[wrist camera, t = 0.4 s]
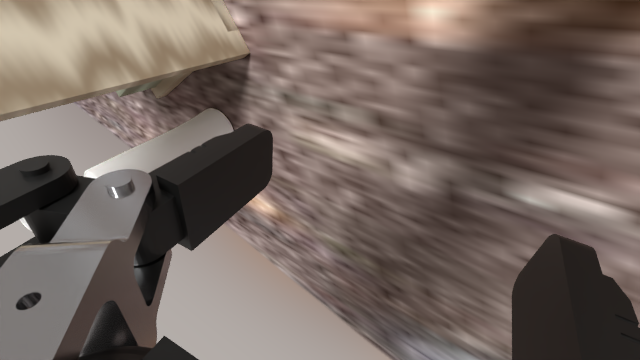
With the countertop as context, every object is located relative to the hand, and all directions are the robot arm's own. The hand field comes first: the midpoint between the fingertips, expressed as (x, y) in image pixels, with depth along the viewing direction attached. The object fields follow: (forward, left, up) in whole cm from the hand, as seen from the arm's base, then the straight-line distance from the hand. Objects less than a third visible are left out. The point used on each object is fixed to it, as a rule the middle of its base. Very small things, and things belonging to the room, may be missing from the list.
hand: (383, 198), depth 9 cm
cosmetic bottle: (+18, -26, -20) cm, 37 cm away
